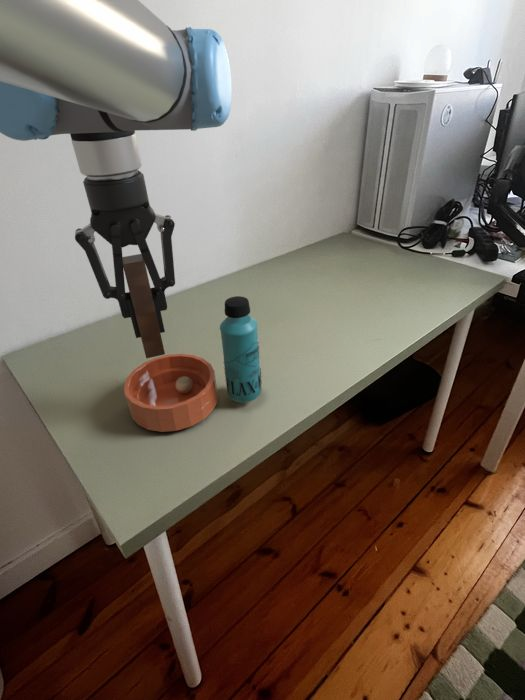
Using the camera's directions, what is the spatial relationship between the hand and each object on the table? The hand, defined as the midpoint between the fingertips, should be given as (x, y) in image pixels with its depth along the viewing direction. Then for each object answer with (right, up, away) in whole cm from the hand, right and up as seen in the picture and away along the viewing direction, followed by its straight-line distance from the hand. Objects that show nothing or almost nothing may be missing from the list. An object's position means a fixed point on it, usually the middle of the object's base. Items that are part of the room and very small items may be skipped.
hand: (149, 330), depth 68 cm
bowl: (+2, -13, +11) cm, 17 cm away
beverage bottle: (+15, -12, +12) cm, 22 cm away
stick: (0, -3, +2) cm, 4 cm away
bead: (+3, -9, +11) cm, 15 cm away
